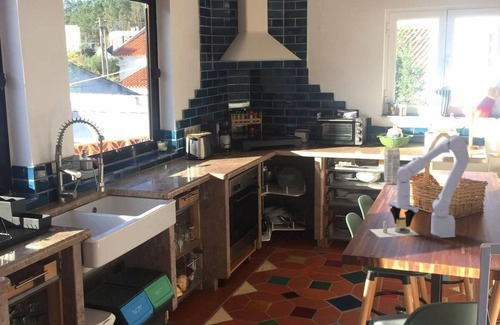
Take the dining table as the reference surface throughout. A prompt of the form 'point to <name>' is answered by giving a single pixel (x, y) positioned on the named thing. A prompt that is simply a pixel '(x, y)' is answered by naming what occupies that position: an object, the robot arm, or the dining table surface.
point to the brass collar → (401, 222)
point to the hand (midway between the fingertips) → (402, 224)
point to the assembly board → (392, 231)
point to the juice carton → (391, 164)
